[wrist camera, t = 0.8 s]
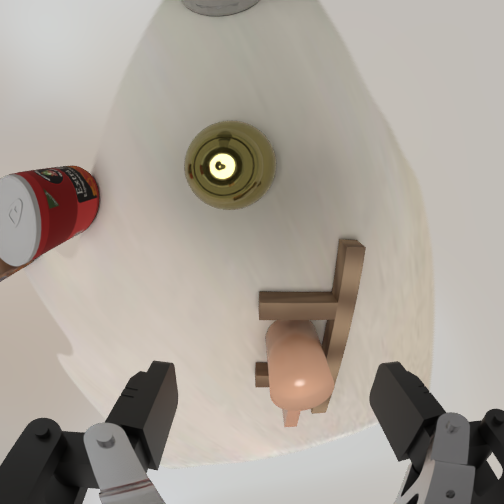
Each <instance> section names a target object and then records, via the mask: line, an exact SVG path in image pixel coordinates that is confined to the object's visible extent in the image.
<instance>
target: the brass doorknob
mask: <svg viewBox="0 0 504 504" xmlns="http://www.w3.org/2000/svg"><path fill="white" fill-rule="evenodd" d="M184 169H185V176H186V179H187V182H188V184H189V186H190V188H191V190H192V191H193V193H194V194H195V195H196V196H197V197H198V198H199V199H200V200H201V201H203V202H204V203H206V204H208V205H210V206H212V207H214V208H218V209H223V210H236V209H241V208H244V207H247V206H249V205H251V204H253V203H255V202H256V201H258V200H259V199H260V198H261V197H262V196H263V195H264V194H265V193H266V192H267V191H268V189H269V188H270V186H271V184H272V182H273V179H274V176H275V172H276V158H275V153H274V150H273V147H272V145H271V143H270V142H269V140H268V139H267V137H266V136H265V135H264V134H263V133H262V132H261V131H260V130H258V129H257V128H255V127H254V126H252V125H250V124H247V123H244V122H240V121H222V122H218V123H215V124H212V125H210V126H208V127H206V128H205V129H203V130H202V131H201V132H200V133H199V134H198V135H197V136H196V137H195V138H194V139H193V141H192V142H191V144H190V146H189V148H188V150H187V153H186V156H185V163H184Z"/></svg>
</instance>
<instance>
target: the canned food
mask: <svg viewBox="0 0 504 504" xmlns="http://www.w3.org/2000/svg"><path fill="white" fill-rule="evenodd" d="M98 206H99V191H98V187H97V184H96V182H95V180H94V178H93V177H92V175H91V174H90V173H89V172H87V171H86V170H84V169H82V168H80V167H77V166H63V167H54V168H46V169H39V170H31V171H25V172H18V173H14V174H9V175H7V176H4V177H2V178H0V258H1V259H2V260H3V261H5V262H6V263H7V264H9V265H12V266H21V265H23V264H26V263H28V262H30V261H32V260H33V259H35V258H37V257H39V256H40V255H42V254H44V253H46V252H47V251H49V250H51V249H53V248H54V247H56V246H58V245H60V244H61V243H63V242H65V241H67V240H69V239H70V238H72V237H74V236H76V235H78V234H80V233H82V232H83V231H84V230H86V229H87V228H88V227H89V226H90V224H91V223H92V221H93V220H94V218H95V216H96V214H97V211H98Z"/></svg>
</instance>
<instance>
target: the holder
mask: <svg viewBox="0 0 504 504" xmlns="http://www.w3.org/2000/svg"><path fill="white" fill-rule="evenodd" d="M365 248H366V247H365V246H363V245H362V244H361V243H360V242H358V241H357V240H340V239H339V246H338V254H337V261H336V268H335V275H334V282H333V288H332V292H259V320H327V323H326V328H325V333H324V338H323V343H322V349H323V352H324V354H325V357H326V360H327V363H328V366H329V369H330V372H331V375H332V378H333V380H334V385H335V382H336V379H337V375H338V372H339V368H340V365H341V361H342V358H343V354H344V350H345V346H346V342H347V338H348V334H349V330H350V326H351V322H352V317H353V313H354V308H355V304H356V299H357V294H358V289H359V284H360V278H361V273H362V267H363V261H364V255H365ZM255 385H256V387H270V385H269V373H268V363H257V362H256V369H255ZM331 395H332V394H331ZM331 395H330V397H329V398H328V399H327V400H326V401H324V402H323V403H322V404H320V405H318V406H316V407H314V408H311V412H312V414H313V413H325V412H326V410H327V407H328V404H329V401H330V398H331Z"/></svg>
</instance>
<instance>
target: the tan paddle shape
mask: <svg viewBox="0 0 504 504" xmlns="http://www.w3.org/2000/svg"><path fill="white" fill-rule="evenodd" d="M266 349H267V361H268V373H269V385H270V396H271V399H272V401H273V403H274V404H275V405H277V406H278V407H280V408H282V409H283V418H284V427H294V426H297V423H298V419H299V415H300V411H302V410H307V409H311V408H314V407H316V406H318V405H320V404H322V403H323V402H324V401H326V400H327V399H328V398H329V397H330V395H331V394H332V392H333V390H334V380H333V378H332V375H331V372H330V369H329V366H328V363H327V360H326V357H325V354H324V352H323V349H322V346H321V343H320V340H319V337H318V335H317V332H316V329H315V327H314V325H313V324H312V322H311V321H309V320H277V321H275V322H274V323H273V324H272V325H271V326H270V327H269V329H268V331H267V333H266Z"/></svg>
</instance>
